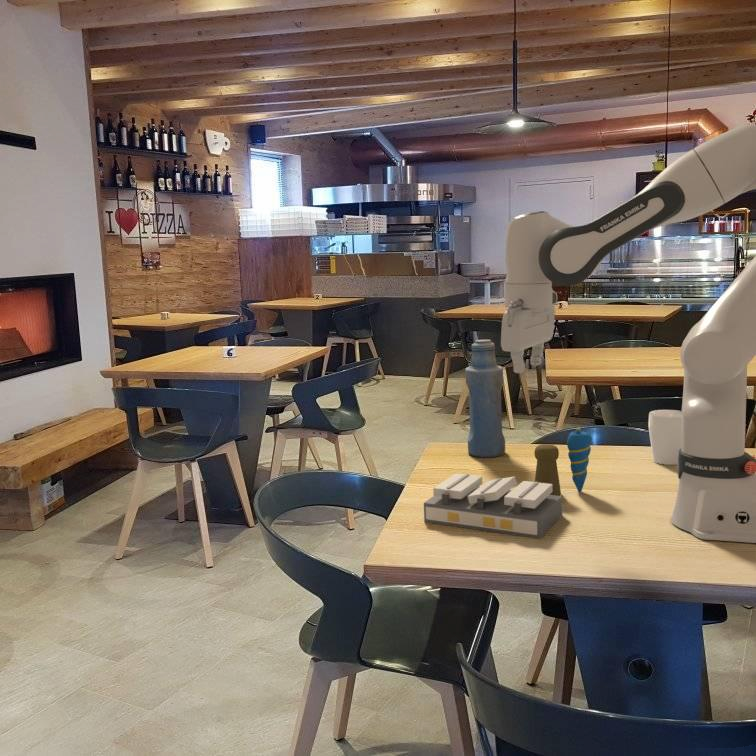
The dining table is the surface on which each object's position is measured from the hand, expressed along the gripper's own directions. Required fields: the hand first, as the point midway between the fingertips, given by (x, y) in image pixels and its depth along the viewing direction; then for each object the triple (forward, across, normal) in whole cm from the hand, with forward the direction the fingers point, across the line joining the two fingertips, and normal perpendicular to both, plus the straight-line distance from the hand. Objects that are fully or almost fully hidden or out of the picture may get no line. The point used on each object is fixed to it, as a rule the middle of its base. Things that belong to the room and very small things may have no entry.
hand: (527, 368), depth 156 cm
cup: (+30, +50, -18) cm, 61 cm away
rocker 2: (+24, -4, -2) cm, 25 cm away
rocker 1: (+24, -4, +6) cm, 25 cm away
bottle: (+31, +42, +26) cm, 58 cm away
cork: (+30, +15, +1) cm, 34 cm away
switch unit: (+30, -4, +6) cm, 31 cm away
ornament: (+30, +19, -5) cm, 36 cm away
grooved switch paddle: (+24, -4, +13) cm, 28 cm away
